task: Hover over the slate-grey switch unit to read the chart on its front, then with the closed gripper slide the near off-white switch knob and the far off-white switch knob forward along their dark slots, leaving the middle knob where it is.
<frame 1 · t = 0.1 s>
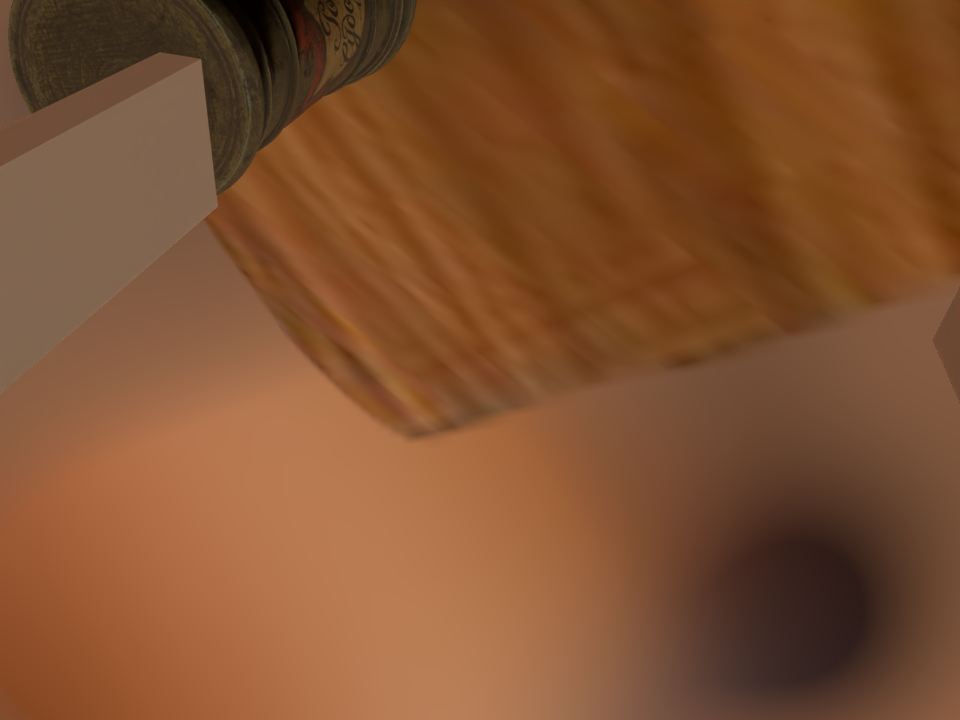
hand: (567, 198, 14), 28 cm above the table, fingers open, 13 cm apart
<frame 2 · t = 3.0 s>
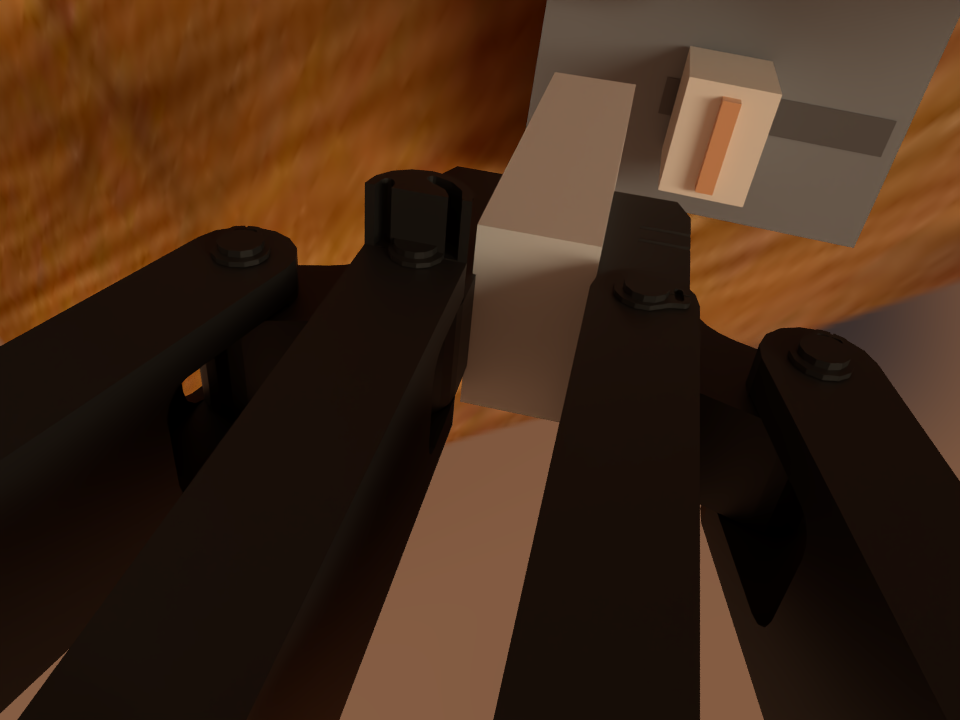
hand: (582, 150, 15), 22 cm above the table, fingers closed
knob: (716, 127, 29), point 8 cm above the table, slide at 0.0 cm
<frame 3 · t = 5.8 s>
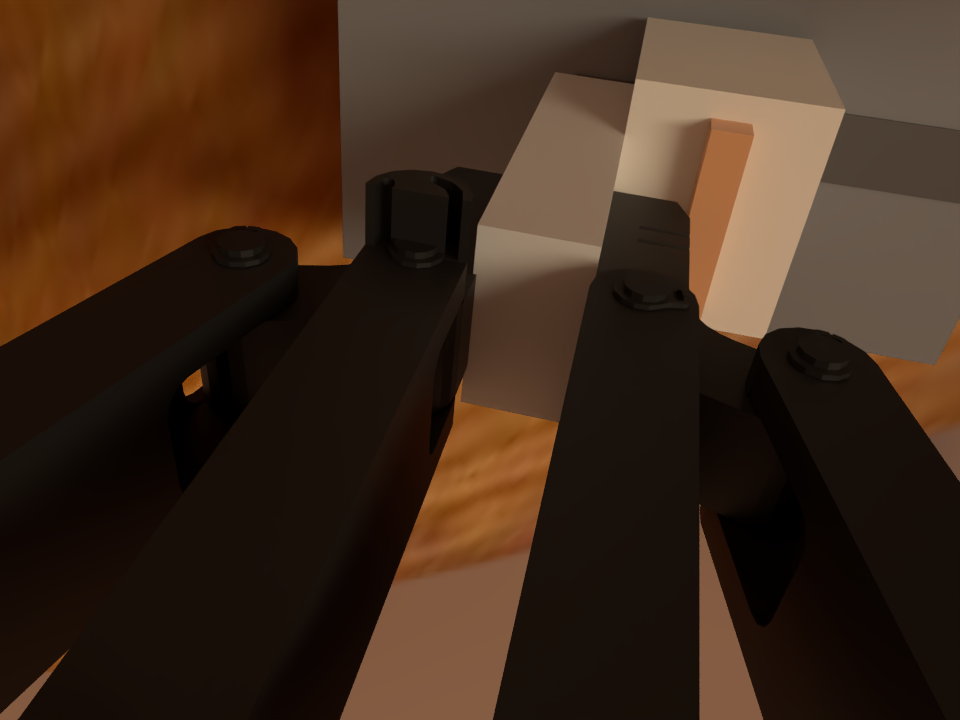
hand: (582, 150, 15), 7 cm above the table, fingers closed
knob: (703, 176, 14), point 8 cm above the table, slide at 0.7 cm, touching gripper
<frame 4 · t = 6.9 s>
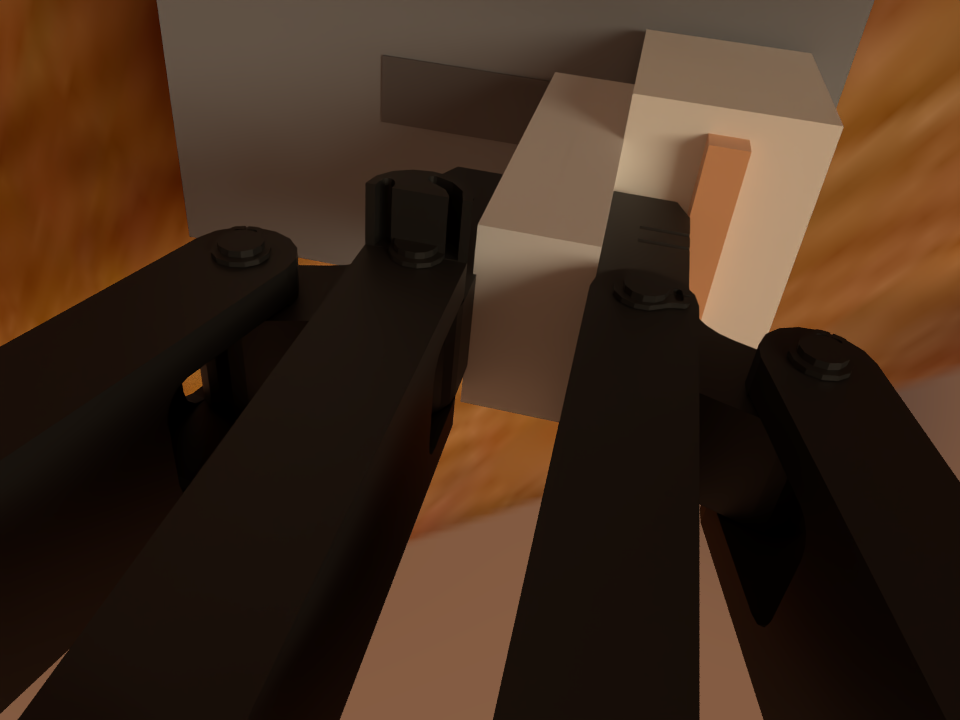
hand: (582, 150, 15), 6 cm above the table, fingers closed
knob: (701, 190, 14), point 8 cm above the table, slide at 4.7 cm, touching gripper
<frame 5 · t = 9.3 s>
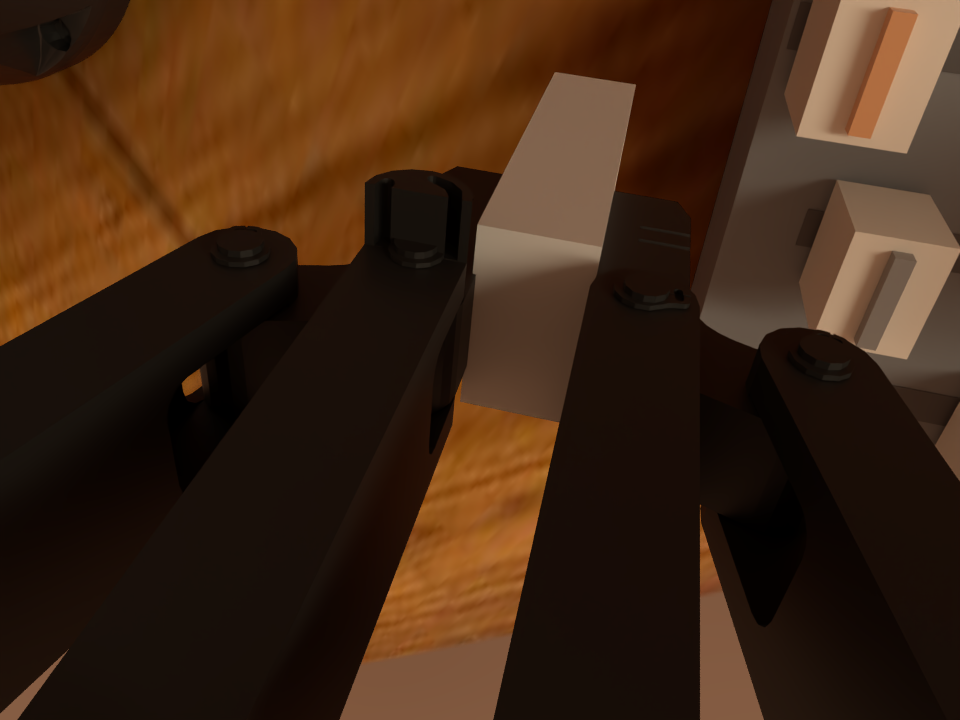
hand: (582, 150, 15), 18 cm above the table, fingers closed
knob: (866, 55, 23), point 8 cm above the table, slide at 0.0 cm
switch unit: (904, 192, 32), on the table
knob mid: (872, 271, 26), point 8 cm above the table, slide at 0.0 cm
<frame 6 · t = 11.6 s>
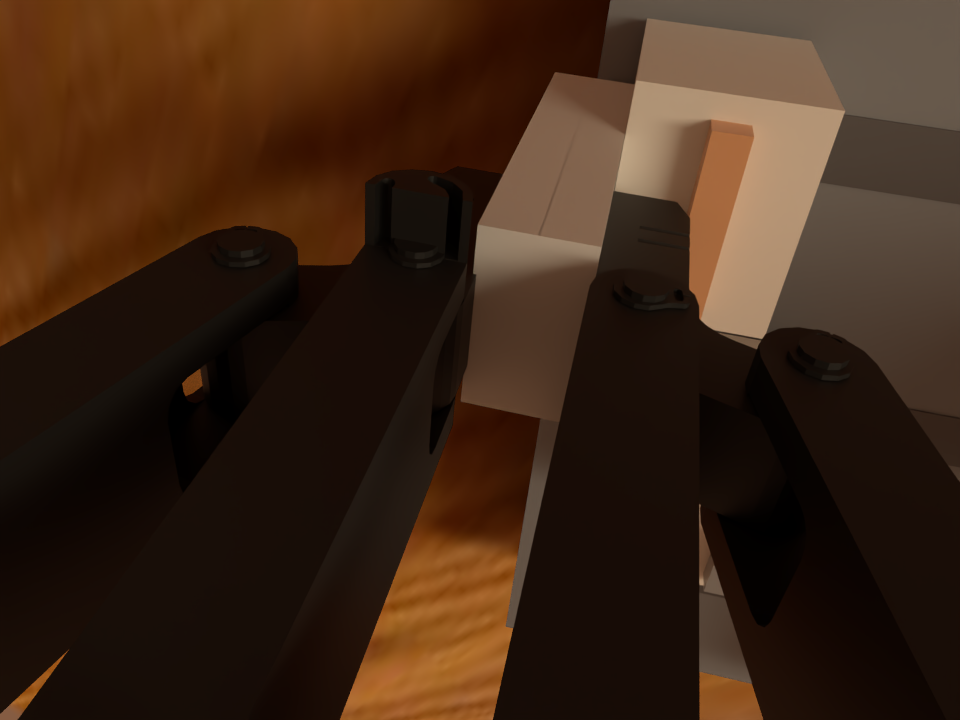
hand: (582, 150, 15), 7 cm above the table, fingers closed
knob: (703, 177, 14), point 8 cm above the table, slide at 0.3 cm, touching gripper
switch unit: (808, 311, 24), on the table
knob mid: (733, 468, 18), point 8 cm above the table, slide at 0.0 cm
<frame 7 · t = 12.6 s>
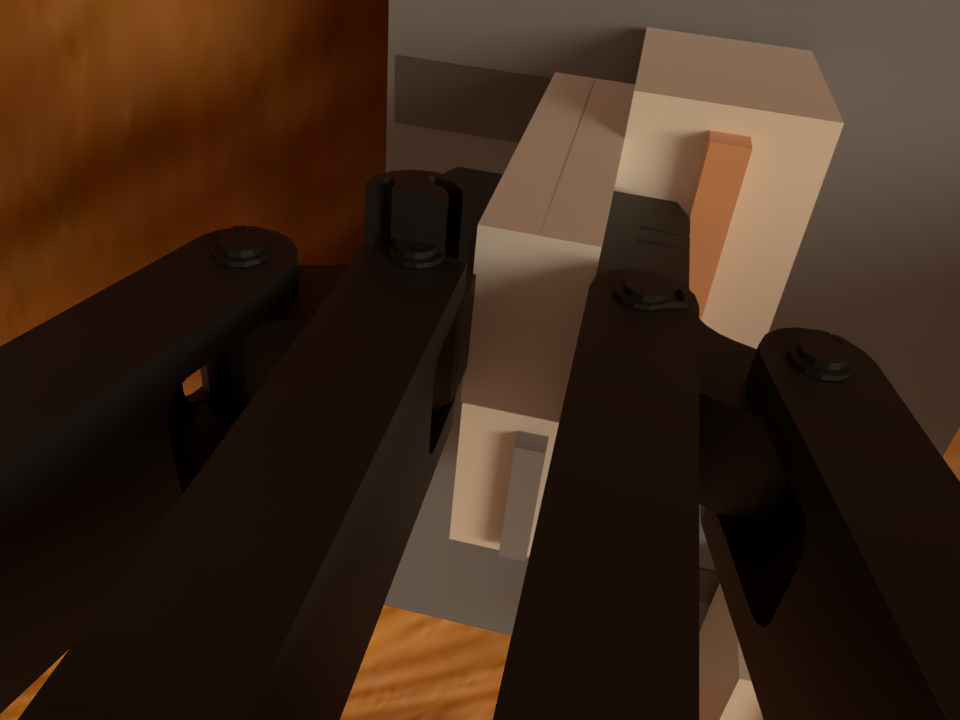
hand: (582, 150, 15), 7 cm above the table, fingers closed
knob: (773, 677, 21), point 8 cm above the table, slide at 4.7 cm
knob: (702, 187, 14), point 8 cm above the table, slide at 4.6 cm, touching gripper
switch unit: (659, 292, 24), on the table
knob mid: (537, 437, 18), point 8 cm above the table, slide at 0.0 cm
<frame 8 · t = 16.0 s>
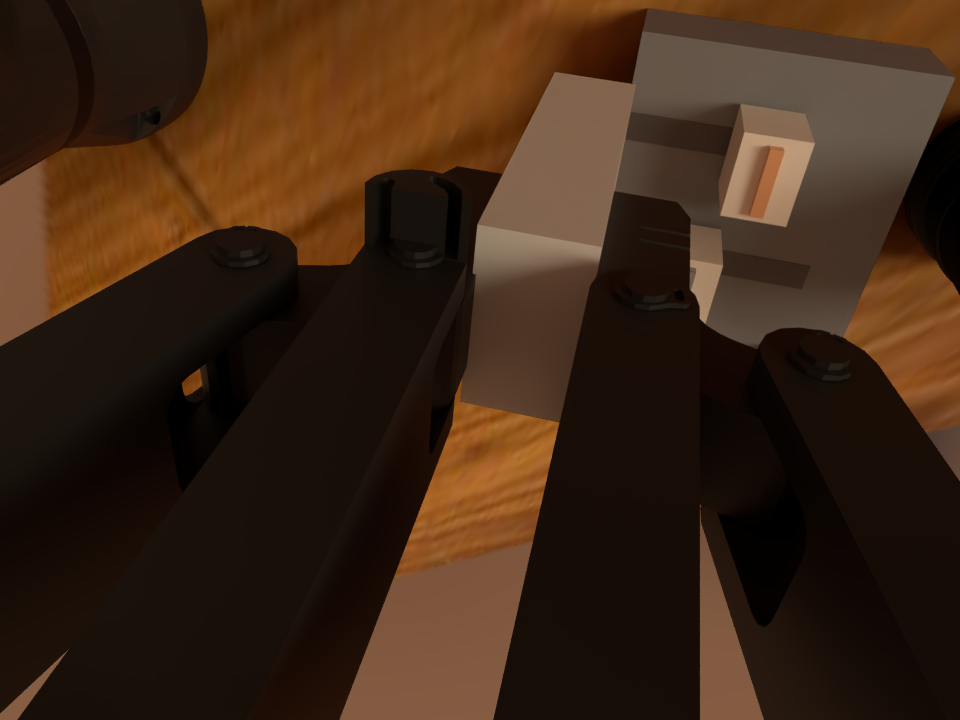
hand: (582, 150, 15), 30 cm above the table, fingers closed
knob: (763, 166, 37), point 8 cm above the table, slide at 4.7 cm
switch unit: (727, 224, 47), on the table
knob mid: (682, 278, 42), point 8 cm above the table, slide at 0.0 cm
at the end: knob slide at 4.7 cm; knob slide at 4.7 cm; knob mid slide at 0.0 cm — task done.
